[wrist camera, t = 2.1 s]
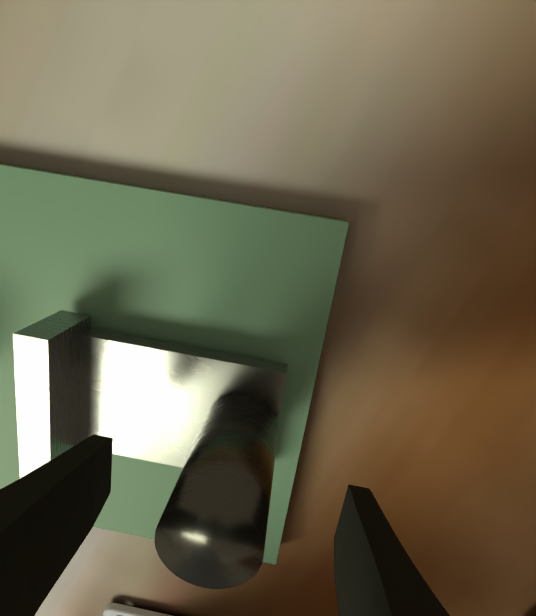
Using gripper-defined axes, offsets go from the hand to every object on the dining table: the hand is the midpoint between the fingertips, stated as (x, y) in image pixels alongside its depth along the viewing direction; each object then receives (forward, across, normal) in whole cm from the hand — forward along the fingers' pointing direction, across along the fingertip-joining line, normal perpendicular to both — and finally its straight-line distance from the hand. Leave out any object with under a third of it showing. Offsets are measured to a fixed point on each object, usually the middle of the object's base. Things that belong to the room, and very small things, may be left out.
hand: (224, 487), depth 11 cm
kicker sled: (+4, +3, 0) cm, 5 cm away
